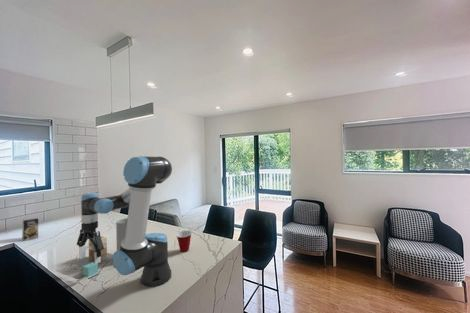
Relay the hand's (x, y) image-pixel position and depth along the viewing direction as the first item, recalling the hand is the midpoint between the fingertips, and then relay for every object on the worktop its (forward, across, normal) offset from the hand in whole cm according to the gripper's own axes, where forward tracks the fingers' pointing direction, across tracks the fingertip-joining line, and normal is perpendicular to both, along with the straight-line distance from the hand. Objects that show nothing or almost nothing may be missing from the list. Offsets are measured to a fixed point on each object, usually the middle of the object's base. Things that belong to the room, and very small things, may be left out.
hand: (89, 260), depth 116 cm
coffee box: (+11, +110, -17) cm, 112 cm away
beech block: (+1, +16, -14) cm, 21 cm away
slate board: (+9, +13, -12) cm, 20 cm away
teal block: (+8, -1, 0) cm, 8 cm away
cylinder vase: (+8, -4, -21) cm, 23 cm away
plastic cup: (+8, -28, -46) cm, 54 cm away
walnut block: (+7, +15, -14) cm, 22 cm away
